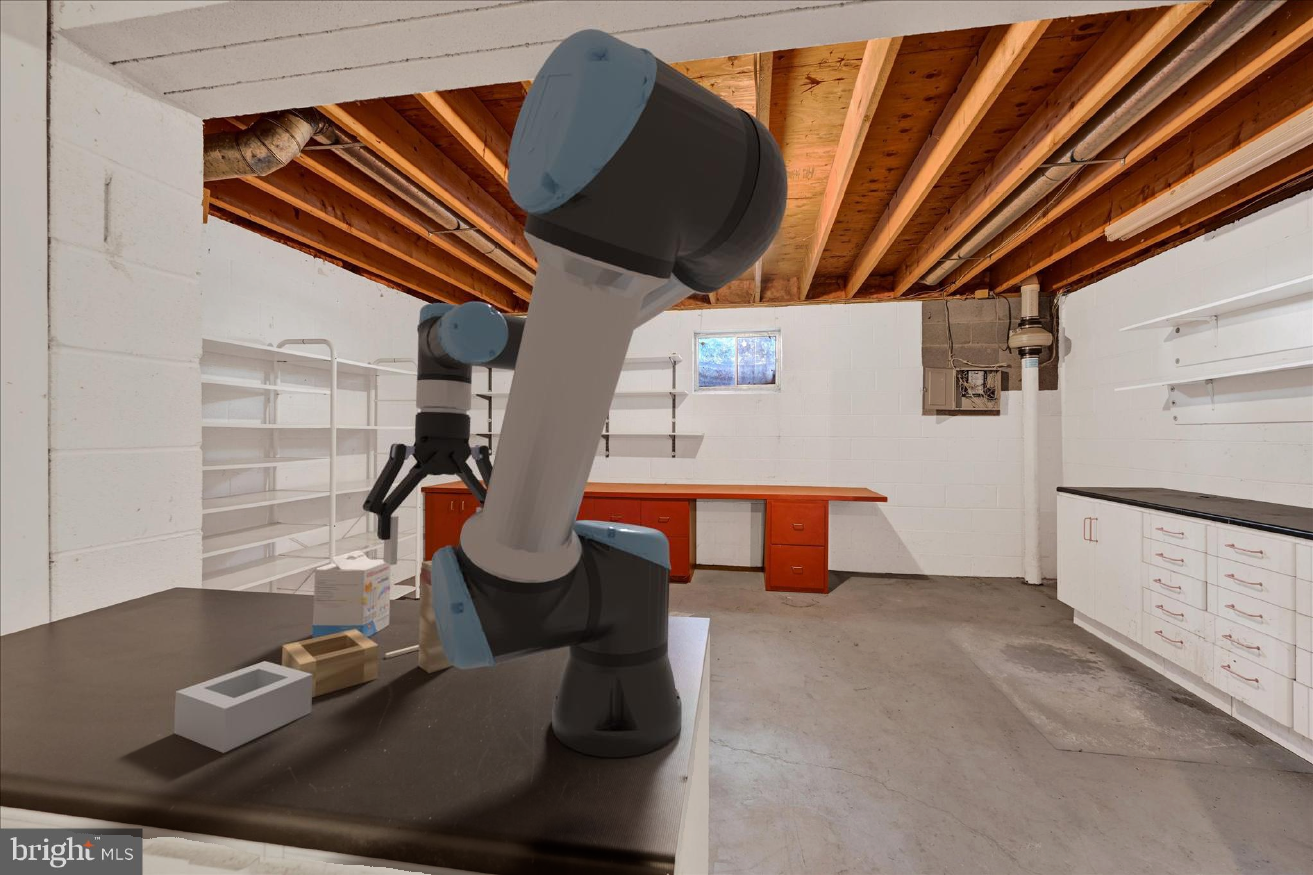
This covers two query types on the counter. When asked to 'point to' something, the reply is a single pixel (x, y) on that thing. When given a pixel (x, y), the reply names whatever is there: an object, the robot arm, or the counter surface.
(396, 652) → the thin white stick
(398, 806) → the counter surface
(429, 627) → the red-banded tall box
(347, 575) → the ink box
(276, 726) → the grey square frame
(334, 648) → the wooden square frame
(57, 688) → the counter surface
